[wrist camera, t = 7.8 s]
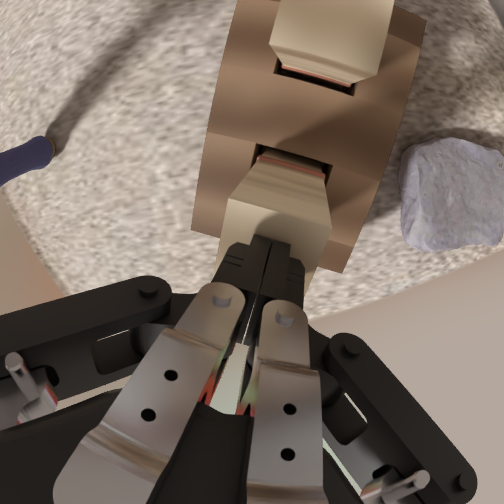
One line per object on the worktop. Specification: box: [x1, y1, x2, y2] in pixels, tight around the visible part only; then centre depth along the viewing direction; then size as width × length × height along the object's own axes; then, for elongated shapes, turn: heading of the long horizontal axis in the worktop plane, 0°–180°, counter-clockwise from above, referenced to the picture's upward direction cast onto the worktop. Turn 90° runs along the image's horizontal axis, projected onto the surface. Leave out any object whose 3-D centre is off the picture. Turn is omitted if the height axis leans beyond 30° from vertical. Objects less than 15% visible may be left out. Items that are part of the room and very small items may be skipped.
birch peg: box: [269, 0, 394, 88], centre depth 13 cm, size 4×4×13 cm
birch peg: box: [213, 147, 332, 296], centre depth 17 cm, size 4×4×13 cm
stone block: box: [398, 137, 504, 252], centre depth 21 cm, size 12×5×10 cm
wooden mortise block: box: [191, 0, 426, 273], centre depth 19 cm, size 20×12×6 cm, turn 167°
